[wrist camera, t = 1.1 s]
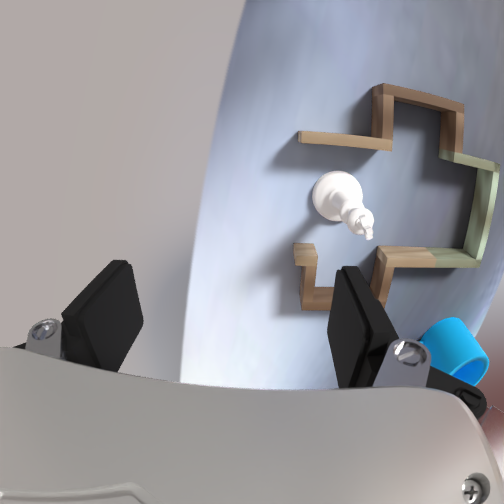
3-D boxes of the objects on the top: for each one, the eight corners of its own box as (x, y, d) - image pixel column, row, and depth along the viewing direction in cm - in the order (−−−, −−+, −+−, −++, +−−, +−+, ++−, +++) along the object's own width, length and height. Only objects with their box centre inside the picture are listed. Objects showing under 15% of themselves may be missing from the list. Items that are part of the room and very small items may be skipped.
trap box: (298, 79, 23) (301, 73, 20) (486, 117, 21) (502, 119, 19) (290, 294, 32) (291, 310, 29) (455, 292, 30) (466, 304, 28)
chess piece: (323, 227, 28) (346, 276, 19) (304, 182, 27) (322, 212, 18) (367, 209, 27) (409, 249, 18) (350, 162, 26) (391, 183, 16)
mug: (471, 316, 32) (498, 352, 25) (449, 358, 35) (469, 395, 28) (407, 316, 32) (432, 360, 25) (386, 362, 36) (403, 407, 28)
